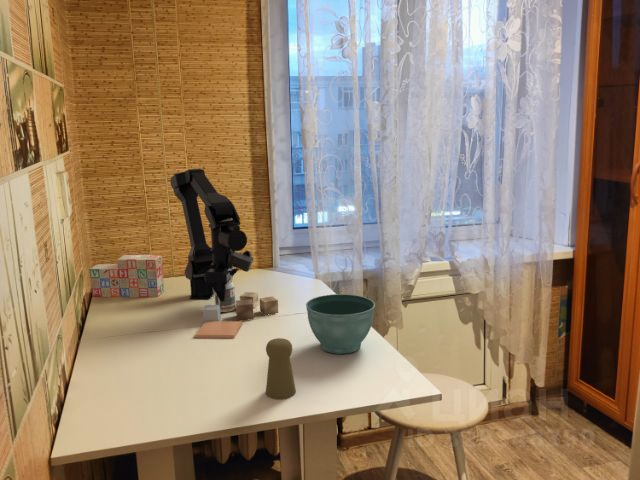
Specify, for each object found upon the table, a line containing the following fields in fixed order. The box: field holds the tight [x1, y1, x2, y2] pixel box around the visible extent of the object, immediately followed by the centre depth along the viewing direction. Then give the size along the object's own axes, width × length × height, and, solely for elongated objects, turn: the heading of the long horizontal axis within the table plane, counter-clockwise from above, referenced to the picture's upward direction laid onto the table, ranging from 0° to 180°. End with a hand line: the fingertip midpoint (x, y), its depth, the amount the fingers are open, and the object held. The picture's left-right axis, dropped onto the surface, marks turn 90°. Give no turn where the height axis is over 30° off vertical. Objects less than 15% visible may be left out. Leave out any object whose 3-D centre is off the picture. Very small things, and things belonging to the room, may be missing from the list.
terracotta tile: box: [194, 320, 243, 339], centre depth 153 cm, size 10×10×1 cm
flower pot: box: [305, 293, 376, 355], centre depth 139 cm, size 16×16×11 cm
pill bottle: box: [214, 275, 236, 313], centre depth 169 cm, size 6×6×10 cm
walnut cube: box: [235, 299, 255, 322], centre depth 162 cm, size 4×4×4 cm
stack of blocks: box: [88, 254, 165, 298], centre depth 186 cm, size 21×6×12 cm, turn 86°
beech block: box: [239, 291, 260, 310], centre depth 171 cm, size 4×4×4 cm
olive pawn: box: [265, 337, 297, 400], centre depth 117 cm, size 6×6×11 cm
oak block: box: [259, 296, 279, 316], centre depth 166 cm, size 4×4×4 cm
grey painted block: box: [202, 304, 221, 323], centre depth 160 cm, size 4×4×4 cm
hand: (225, 297), depth 169 cm, fingers closed on pill bottle, 6 cm apart
